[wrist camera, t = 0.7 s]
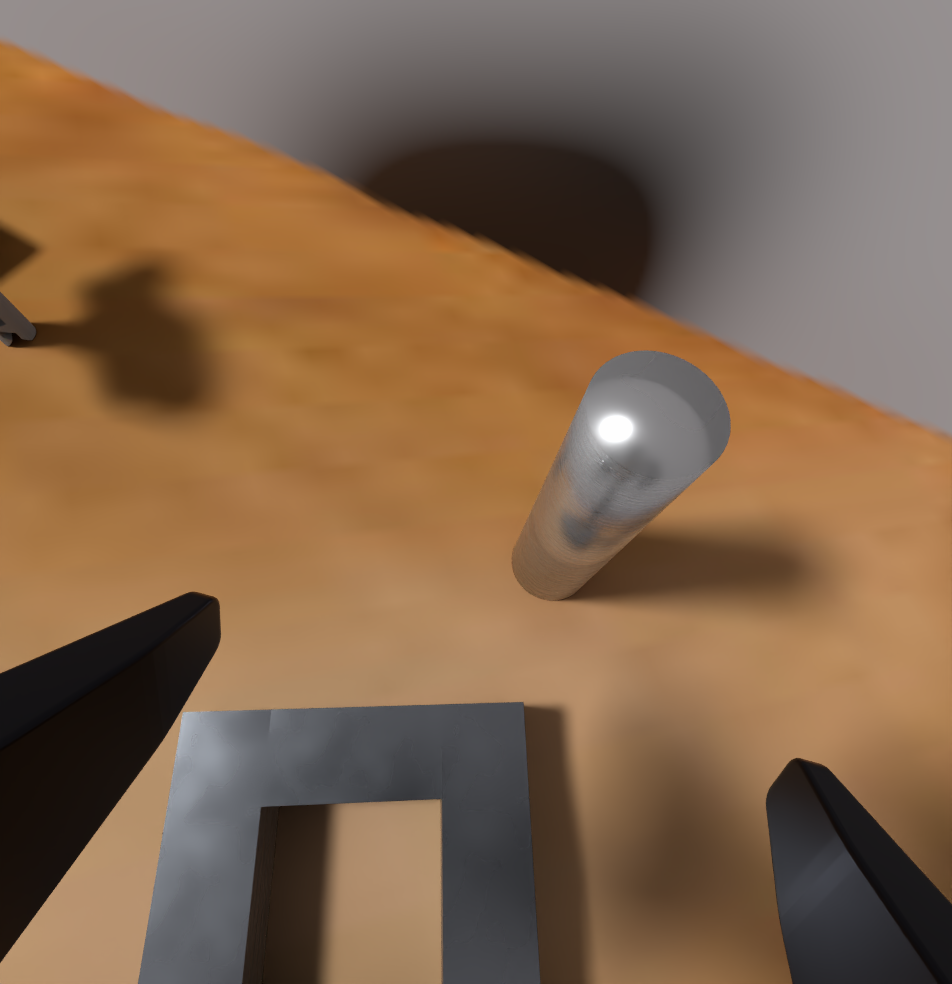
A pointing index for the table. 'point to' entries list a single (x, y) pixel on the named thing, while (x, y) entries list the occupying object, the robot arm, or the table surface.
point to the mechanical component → (13, 322)
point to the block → (343, 779)
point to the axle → (619, 467)
